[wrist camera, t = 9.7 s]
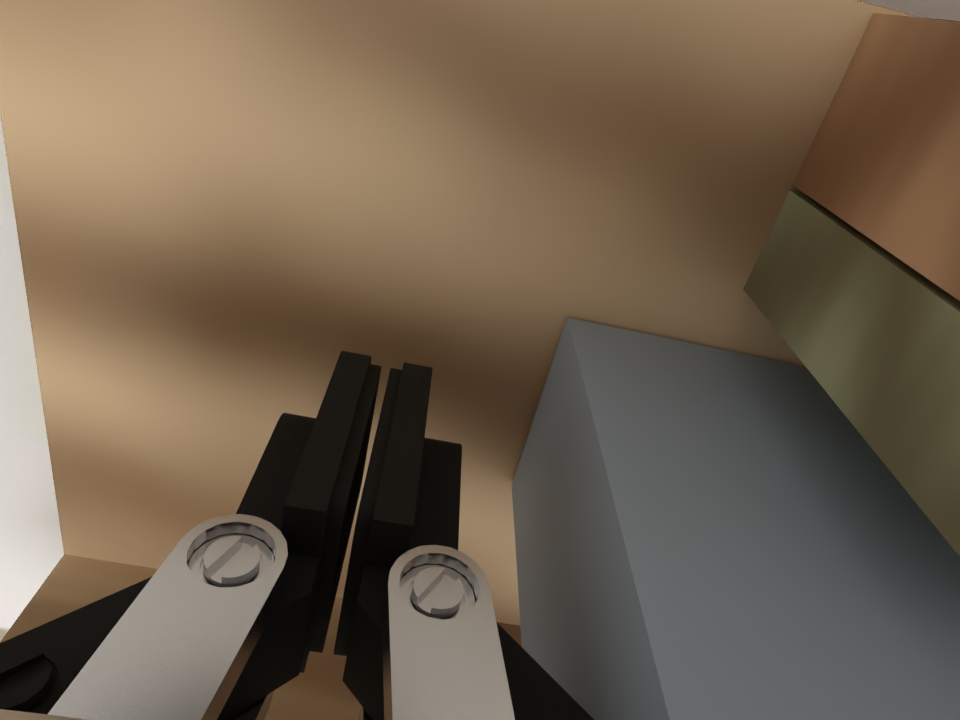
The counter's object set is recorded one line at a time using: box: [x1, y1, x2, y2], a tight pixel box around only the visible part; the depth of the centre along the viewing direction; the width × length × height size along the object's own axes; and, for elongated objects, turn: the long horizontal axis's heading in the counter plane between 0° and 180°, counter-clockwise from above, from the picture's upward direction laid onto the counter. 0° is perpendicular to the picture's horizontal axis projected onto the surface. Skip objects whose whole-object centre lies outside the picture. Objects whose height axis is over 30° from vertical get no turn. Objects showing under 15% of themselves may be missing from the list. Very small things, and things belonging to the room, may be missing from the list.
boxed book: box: [512, 317, 960, 720], centre depth 11 cm, size 4×12×9 cm, turn 77°
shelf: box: [0, 0, 960, 720], centre depth 11 cm, size 17×24×10 cm
